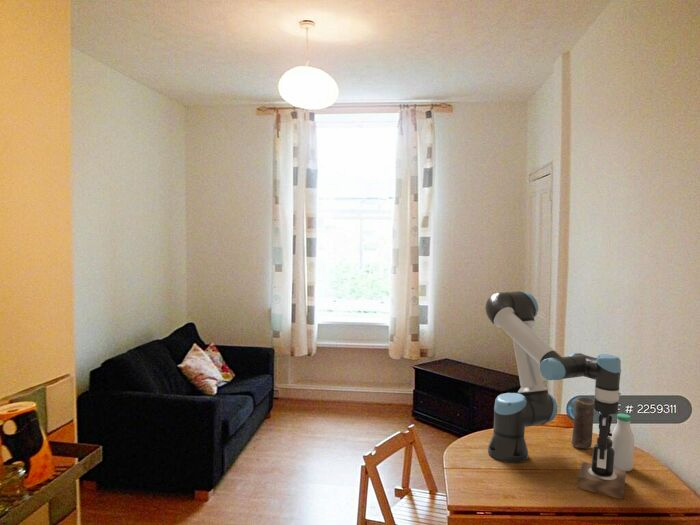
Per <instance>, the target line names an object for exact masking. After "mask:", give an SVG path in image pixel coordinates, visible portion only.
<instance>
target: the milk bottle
mask: <svg viewBox="0 0 700 525" xmlns="http://www.w3.org/2000/svg"><path fill="white" fill-rule="evenodd" d="M616 418H617V419H616V421H617V423H616V424H615V427H614V429H612V432H611V433H612V437H611V436H610V439H611V440H612V448H613V449H614V451H615V456H614V467H613V469H618V470H622V471H626V472H630V471H632V470H633V465H634V453H635V452H634V450H635V437H634V433H633V431H632V428H631V421H632V417H631V415H629V414H626V413H617V415H616Z"/></svg>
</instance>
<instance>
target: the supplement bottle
mask: <svg viewBox="0 0 700 525" xmlns="http://www.w3.org/2000/svg"><path fill="white" fill-rule="evenodd" d="M598 441H599V436H598V437H597V438H596V444H594V446H593V448H592V455H591V456H592V458H591V464H592V468H591V469H592V472H593V473H595V474H597V475H599V476H603V477H610V476H612V475H613V469H614V468H613V467H614V456H615V451H614V449H613V448H612V440H611V438H610V439H609V438H607V458H606V469H604V468H599V467H597V457H598V449H597V448H596V446H598ZM600 446H603V445H600Z"/></svg>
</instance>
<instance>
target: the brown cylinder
mask: <svg viewBox="0 0 700 525" xmlns="http://www.w3.org/2000/svg"><path fill="white" fill-rule="evenodd" d="M594 401H595V400H593V399H592V398H589V397H586V396H584V397H583V396H579V397H576V398H575V404H574V413H573V415H574V416H573V425H572V426H573V428H572V437H571V445H572V446H573V447H575V448H578V449H579V448H580V449H583V450H586V449H590V448H591V447H592V443H593V442H592V441H593V431H594V430H593V429H594V415H595V409H594Z"/></svg>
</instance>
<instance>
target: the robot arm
mask: <svg viewBox="0 0 700 525" xmlns="http://www.w3.org/2000/svg"><path fill="white" fill-rule="evenodd" d="M484 309H485V314H486V316H487V318H488V319H489V321H490V322H491V323H492V324H493V325H494V326H496V328H501V329H502V330H503V331H504V332H505V333H506V334H507V335H508V336H509V337H510V338H511V340H512V344H513V351H514V356H515V362H516V367H517V372H518V378H519V385H520V388H519V389H518V391H517V392H506V393H500V394H499V395H497V397H496V398H495V399H494V400H495V401H494V405H493V406H494V407H493V410H494V411H493V433H492V436H491V439H490V441H489V444H488V447H487V453H488V455H489V456H490V457H492V458H493V459H495V460H498V461H501V462H505V463H510V464H511V463H512V464H513V463H514V464H515V463H516V464H518V463H524V462H526V461H527V460H528V459H529V450H528V445H527V443H526V438H525V429H526V428H528V427H534V426H539V425H541V426H542V425H545V424H549V423H551V422H553V421H554V420H555V418H556V416H557V414H558V403H557V400H556V398H554V396H553V395H552V394H550V393H549V389H548V388H547V387H546V386H544V384H543V379H545V380H548V381H560V380H565V379H572V378H573V379H575V378H580V377H581V378H582V377H583V378H584V377H585V378H588V379H590V380H595V386H594V400H593V401H594V411H596V412H598V413H600V414H599V416H598V430H599V432H598V437H599V441H598V446H596V448H597V449H598V457H597V467H599V468H604V469H606V458H607V438H609V439H611V437H612V432H611V426H612V421H613V416H612V415H616V414H619V406H620V405H619V400H620V399H619V398H620V396H622V393H621V392H620V383H621V382H620V381H621V373H622V369H621V368H622V367H621V365H622V364H621V359H620V357H619V356H617V355H613V354H608V353H607V354H606V353H599V354H598V355H597V356H596V357H593V356H590V355H587V354H584V353H582V352H570V353H569V354H568V355H567V356H562V355H560V354H559V353H558V352H557V351H556V350H555V349H553V347H552V346H550V344H548V343H547V342H546V341H545V340H543V339H542V337H540V336H539V335H538V334H537V333H536V332H535V331H534V330H533V325H534V324H535V321H536V320H535V318H536V316H537V315H538V312H539V306H538V301H537V299H536V298H535V297H534V295H532V294H531V293H529V292H527V291H520V290H519V291H507V292H506V291H505V292H503V291H501V292H495V293H493V294H492V295H490V296H489V297H488V299H487V300H486V302H485V308H484ZM542 377H543V379H542ZM600 445H603V446H600Z"/></svg>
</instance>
